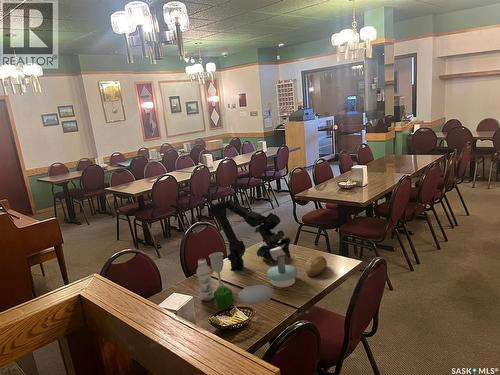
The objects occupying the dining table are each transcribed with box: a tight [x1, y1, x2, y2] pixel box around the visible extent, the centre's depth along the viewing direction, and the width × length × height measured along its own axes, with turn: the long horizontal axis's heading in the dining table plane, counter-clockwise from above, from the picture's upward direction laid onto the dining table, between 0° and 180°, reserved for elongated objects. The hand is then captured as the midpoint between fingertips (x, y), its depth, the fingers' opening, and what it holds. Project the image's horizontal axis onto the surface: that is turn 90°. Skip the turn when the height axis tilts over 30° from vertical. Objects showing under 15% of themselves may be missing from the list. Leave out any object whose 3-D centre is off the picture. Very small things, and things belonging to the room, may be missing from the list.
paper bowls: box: [258, 240, 286, 262], centre depth 205 cm, size 15×15×8 cm
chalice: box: [208, 251, 226, 290], centre depth 176 cm, size 7×7×18 cm
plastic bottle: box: [196, 258, 215, 302], centre depth 167 cm, size 6×7×20 cm
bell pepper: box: [213, 283, 234, 309], centre depth 160 cm, size 8×8×10 cm
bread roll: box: [304, 255, 328, 277], centre depth 183 cm, size 10×15×8 cm, turn 143°
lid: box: [266, 255, 298, 281], centre depth 175 cm, size 15×15×9 cm
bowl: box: [269, 276, 296, 288], centre depth 176 cm, size 12×12×4 cm
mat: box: [237, 284, 275, 305], centre depth 168 cm, size 17×17×1 cm
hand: (282, 261), depth 173 cm, fingers open, 9 cm apart
